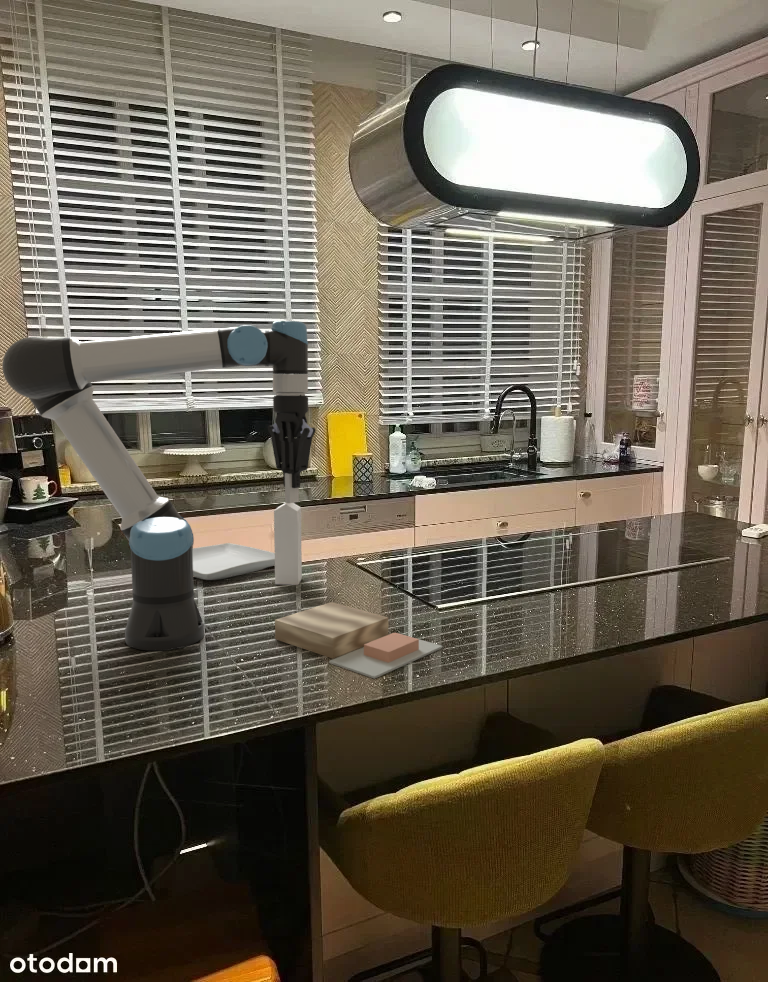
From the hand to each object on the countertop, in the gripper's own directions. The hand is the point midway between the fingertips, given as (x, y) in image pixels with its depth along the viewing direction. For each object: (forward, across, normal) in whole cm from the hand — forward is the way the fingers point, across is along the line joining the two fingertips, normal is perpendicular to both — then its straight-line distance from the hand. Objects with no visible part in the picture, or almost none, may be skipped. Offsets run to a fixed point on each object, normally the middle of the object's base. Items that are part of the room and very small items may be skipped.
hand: (292, 502), depth 166 cm
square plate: (+25, +43, -12) cm, 51 cm away
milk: (+25, +18, -15) cm, 34 cm away
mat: (+24, -34, +8) cm, 43 cm away
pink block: (+22, -35, +7) cm, 42 cm away
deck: (+24, -20, +8) cm, 33 cm away
